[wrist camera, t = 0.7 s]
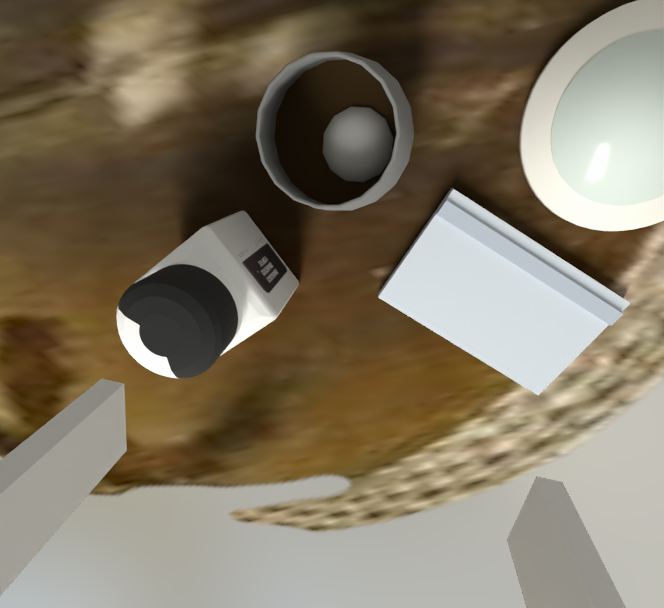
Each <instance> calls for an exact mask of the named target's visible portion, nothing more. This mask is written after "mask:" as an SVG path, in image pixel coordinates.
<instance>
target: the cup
mask: <svg viewBox="0 0 664 608" xmlns="http://www.w3.org/2000/svg"><path fill="white" fill-rule="evenodd" d="M413 139H414V129H413V120H412V112H411V106H410V104H409V102H408V100H407V98H406V96H405V94H404V92H403V90H402V88H401V86H400V84H399V82H398V81H397V80H396V79H395V78H394V77H393V76H392V75H391V74H390V73H389V72H387V71H386V70H385V69H384V68H383V67H382V66H381V65H380V64H379V63H378V62H375V61H372V60H370V59H367V58H364V57H361V56H359V55H356V54H353V53H348V52H341V51H331V52H313V53H309V54H307V55H305V56H303V57H301V58H299V59H297V60H295V61H293V62H291V63H289V64H287V65H286V66H285V67H284V68H283V69H282V70H281V71H280V72H279V74H278V75H277V76H276V77H275V78H274V79H273V80H272V81H271V82H270V83H269V84H268V87H267V89H266V91H265V94H264V96H263V99H262V101H261V103H260V106H259V108H258V114H257V127H256V140H257V144H258V148H259V153H260V157H261V161H262V164H263V165H264V167H265V169H266V170H267V172H268V173H269V175H270V177H271V178H272V180H273V182H274V183H275V185H276V186H278V187H279V188H280V189H281V190H282V191H284V192H285V193H286V194H287V195H288V196H290V197H291V198H292V199H293V200H295V201H298V202H300V203H303V204H306V205H308V206H311V207H314V208H317V209H323V210H355V209H357V208H360V207H363V206H365V205H368V204H371V203H373V202H376V201H377V200H378V199H379V198H380V197H382V196H383V195H384V194H385V193H386V192H387V191H389V190H390V189H391V188H392V187H393V186H395V184H396V183H397V181H398V179H399V177H400V176H401V174H402V172H403V171H404V169H405V167H406V166H407V164H408V162H409V158H410V153H411V148H412V144H413Z"/></svg>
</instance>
